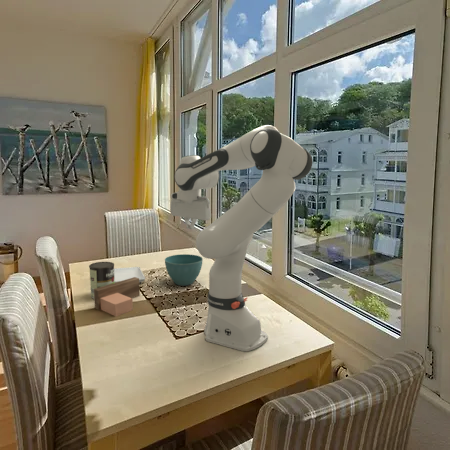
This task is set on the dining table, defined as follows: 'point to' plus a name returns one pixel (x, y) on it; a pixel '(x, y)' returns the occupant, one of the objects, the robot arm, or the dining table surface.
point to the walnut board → (117, 290)
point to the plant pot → (183, 268)
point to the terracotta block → (116, 304)
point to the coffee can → (101, 275)
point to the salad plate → (128, 274)
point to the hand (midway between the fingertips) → (190, 228)
